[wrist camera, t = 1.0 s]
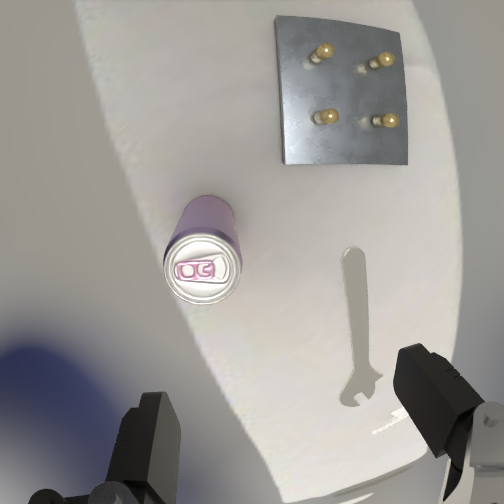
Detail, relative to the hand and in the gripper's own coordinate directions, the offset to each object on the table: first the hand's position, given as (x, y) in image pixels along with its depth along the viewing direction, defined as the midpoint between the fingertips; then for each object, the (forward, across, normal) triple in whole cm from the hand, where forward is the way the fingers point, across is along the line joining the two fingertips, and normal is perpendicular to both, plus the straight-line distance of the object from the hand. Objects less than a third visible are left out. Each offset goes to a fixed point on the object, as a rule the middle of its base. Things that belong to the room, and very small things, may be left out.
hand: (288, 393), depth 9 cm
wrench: (+30, -16, +22) cm, 40 cm away
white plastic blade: (+31, -28, +46) cm, 62 cm away
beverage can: (+29, +4, 0) cm, 29 cm away
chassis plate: (+28, -14, -14) cm, 34 cm away
